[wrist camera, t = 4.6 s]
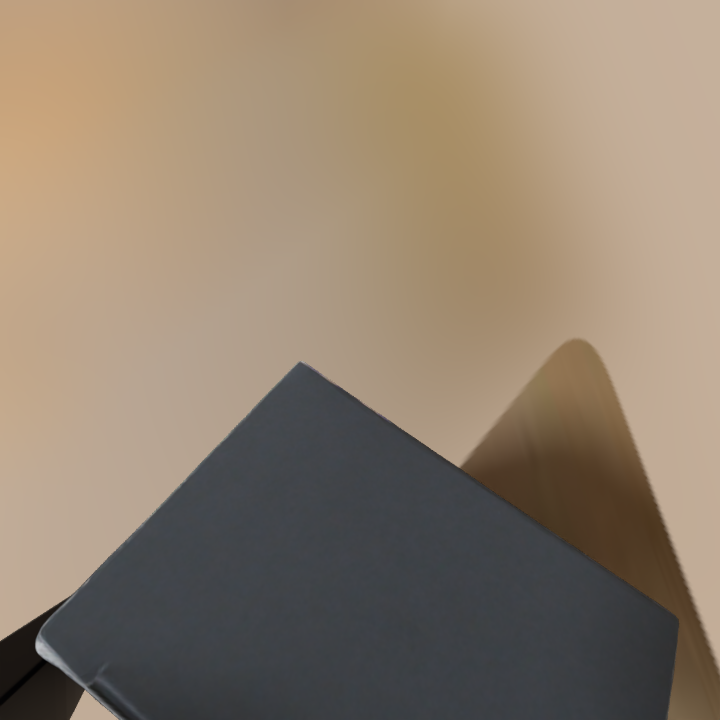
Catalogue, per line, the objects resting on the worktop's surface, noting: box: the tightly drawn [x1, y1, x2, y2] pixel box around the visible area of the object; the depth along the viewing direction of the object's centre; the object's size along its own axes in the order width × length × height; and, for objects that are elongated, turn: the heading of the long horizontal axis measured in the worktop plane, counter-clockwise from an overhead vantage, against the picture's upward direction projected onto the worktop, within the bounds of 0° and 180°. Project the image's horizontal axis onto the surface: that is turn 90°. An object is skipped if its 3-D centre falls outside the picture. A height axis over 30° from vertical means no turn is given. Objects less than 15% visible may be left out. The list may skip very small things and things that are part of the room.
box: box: [35, 361, 679, 720], centre depth 10 cm, size 8×6×11 cm
